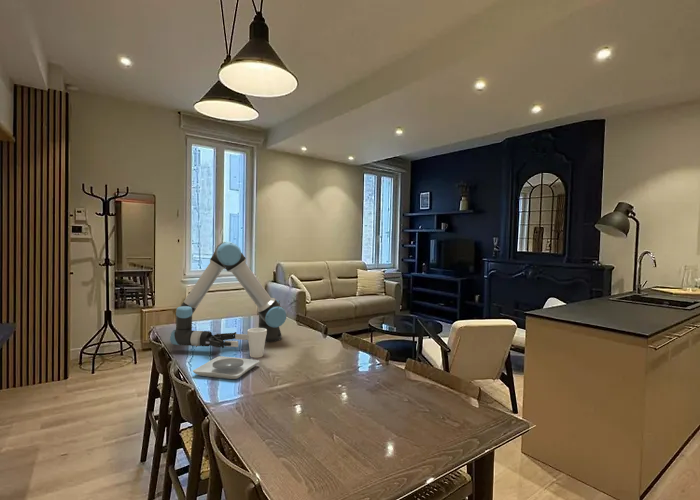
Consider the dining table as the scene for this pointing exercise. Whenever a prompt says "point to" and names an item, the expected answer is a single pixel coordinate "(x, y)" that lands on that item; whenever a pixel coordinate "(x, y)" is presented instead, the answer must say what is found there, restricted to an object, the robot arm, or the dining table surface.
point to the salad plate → (225, 373)
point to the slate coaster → (228, 363)
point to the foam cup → (256, 341)
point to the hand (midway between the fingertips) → (243, 340)
